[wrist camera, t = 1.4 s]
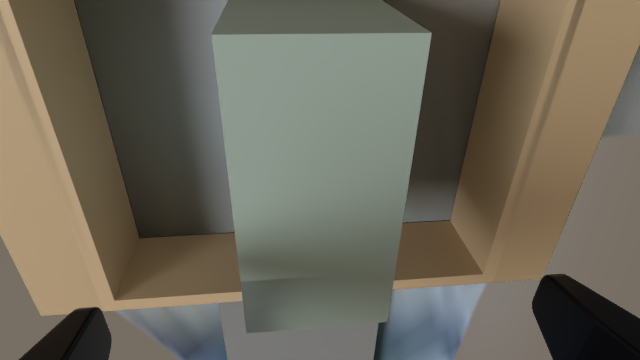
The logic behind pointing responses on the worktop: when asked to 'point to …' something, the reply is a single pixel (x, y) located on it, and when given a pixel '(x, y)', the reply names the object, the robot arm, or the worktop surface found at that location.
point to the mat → (295, 340)
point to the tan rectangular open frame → (220, 249)
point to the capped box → (318, 153)
